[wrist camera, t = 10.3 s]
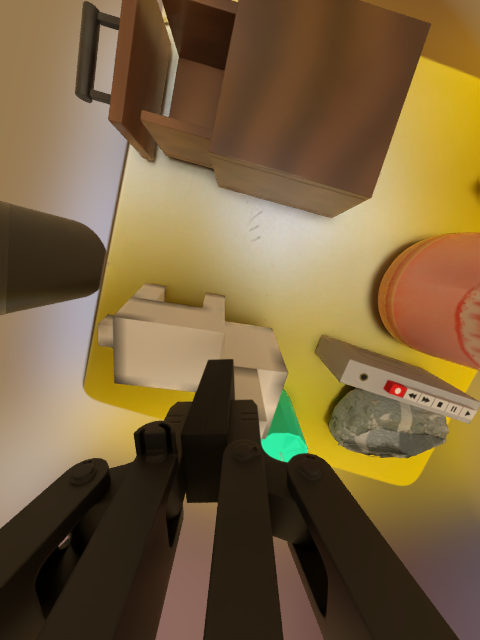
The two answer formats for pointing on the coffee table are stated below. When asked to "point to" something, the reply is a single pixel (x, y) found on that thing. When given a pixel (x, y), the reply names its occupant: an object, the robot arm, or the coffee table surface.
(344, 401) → the decorative stone
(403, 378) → the cassette player
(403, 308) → the vase
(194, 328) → the toy llama
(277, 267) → the coffee table surface
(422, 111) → the coffee table surface
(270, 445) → the candle
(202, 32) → the drawer
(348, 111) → the cabinet
